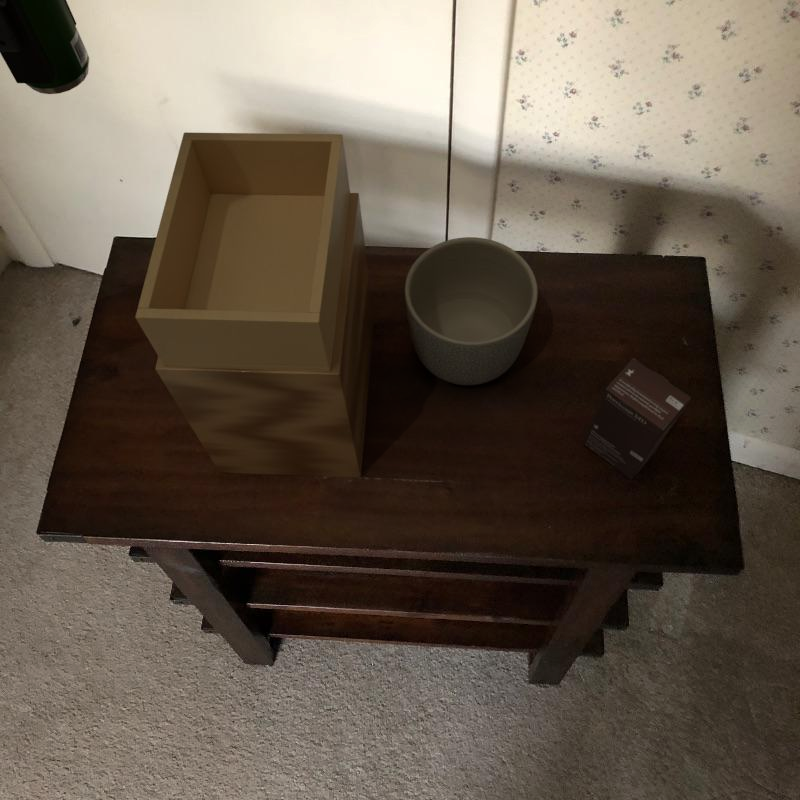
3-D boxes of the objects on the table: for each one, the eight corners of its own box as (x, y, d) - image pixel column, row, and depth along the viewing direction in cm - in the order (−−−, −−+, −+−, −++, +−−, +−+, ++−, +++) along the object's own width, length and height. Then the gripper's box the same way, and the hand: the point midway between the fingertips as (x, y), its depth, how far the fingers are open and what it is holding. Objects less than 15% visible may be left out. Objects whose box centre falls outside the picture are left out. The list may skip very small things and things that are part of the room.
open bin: (164, 367, 58) (134, 317, 52) (205, 191, 66) (183, 131, 60) (330, 372, 57) (318, 322, 51) (350, 194, 65) (342, 133, 59)
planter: (519, 408, 77) (532, 351, 68) (399, 393, 79) (395, 335, 69) (529, 308, 83) (542, 243, 74) (416, 296, 84) (415, 230, 75)
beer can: (90, 44, 61) (20, -117, 50) (95, 89, 58) (22, -71, 48) (22, 57, 60) (-63, -103, 50) (23, 103, 58) (-66, -56, 47)
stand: (219, 472, 75) (154, 369, 58) (246, 320, 84) (197, 189, 66) (360, 478, 74) (339, 374, 57) (373, 324, 83) (358, 192, 65)
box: (579, 446, 75) (603, 387, 65) (606, 416, 77) (635, 353, 66) (630, 485, 73) (664, 430, 62) (657, 453, 75) (695, 394, 64)
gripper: (-161, -279, 33) (64, 140, 53) (-26, -434, 41) (123, -23, 62) (-327, -277, 33) (-40, 139, 54) (-159, -431, 42) (33, -23, 62)
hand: (47, 52), depth 58 cm, fingers closed on beer can, 5 cm apart
